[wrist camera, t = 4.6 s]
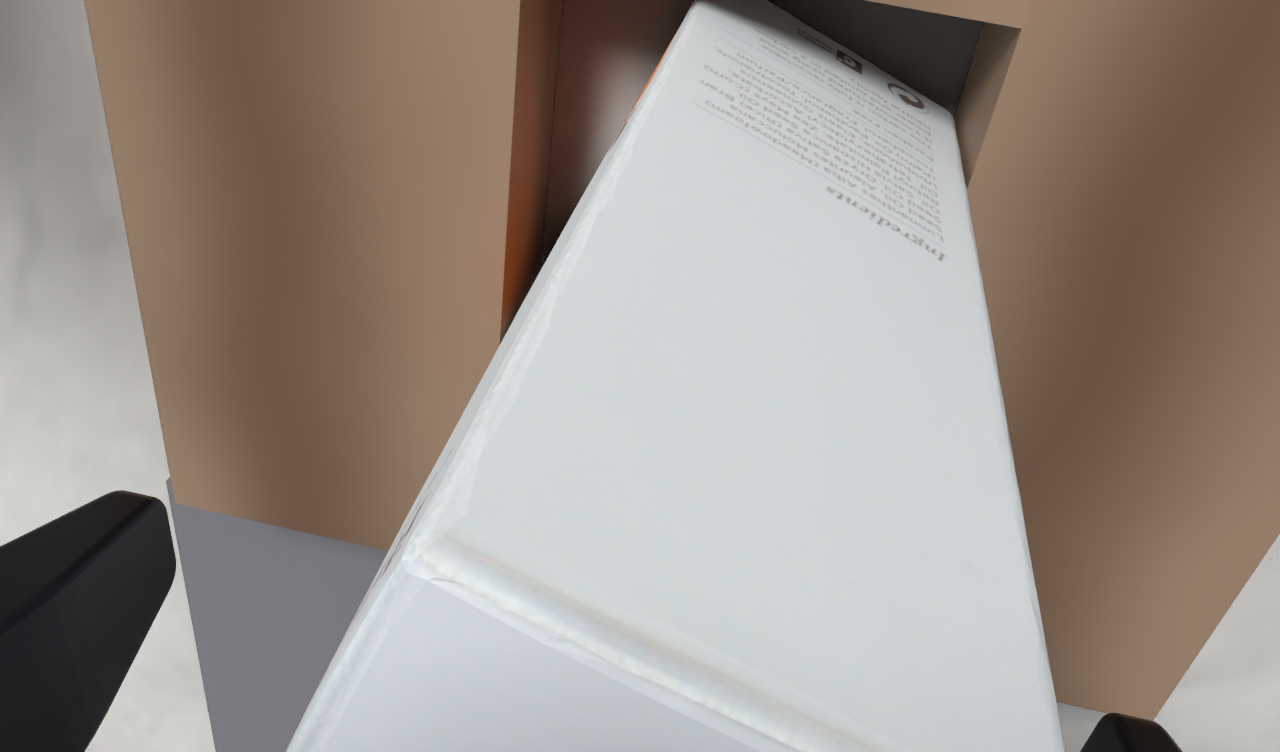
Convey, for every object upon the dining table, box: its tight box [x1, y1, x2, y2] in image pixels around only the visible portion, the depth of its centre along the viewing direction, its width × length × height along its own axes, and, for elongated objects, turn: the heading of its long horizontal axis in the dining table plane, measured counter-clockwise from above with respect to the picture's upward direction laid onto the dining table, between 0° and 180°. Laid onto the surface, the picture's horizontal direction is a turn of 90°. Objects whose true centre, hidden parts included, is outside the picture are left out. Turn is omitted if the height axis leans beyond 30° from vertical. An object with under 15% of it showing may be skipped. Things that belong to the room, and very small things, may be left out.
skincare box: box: [286, 0, 1066, 752], centre depth 12 cm, size 6×4×12 cm
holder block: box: [84, 0, 1280, 721], centre depth 16 cm, size 18×14×2 cm
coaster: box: [166, 477, 388, 752], centre depth 25 cm, size 11×11×1 cm
